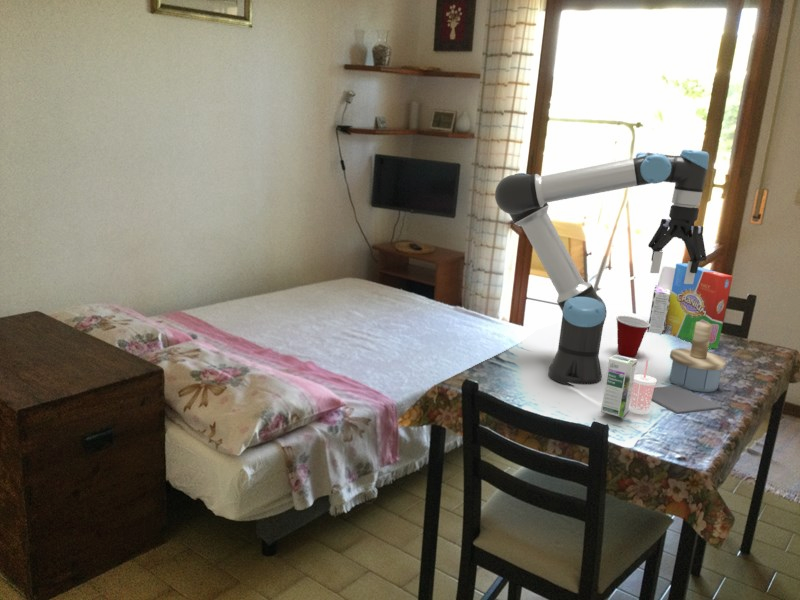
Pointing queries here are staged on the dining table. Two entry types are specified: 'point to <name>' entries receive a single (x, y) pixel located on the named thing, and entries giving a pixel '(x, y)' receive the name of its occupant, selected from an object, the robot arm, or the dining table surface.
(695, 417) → the dining table surface
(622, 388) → the syrup box
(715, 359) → the lid
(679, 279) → the game box
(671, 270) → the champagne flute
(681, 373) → the bowl
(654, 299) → the candy box
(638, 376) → the beverage cup
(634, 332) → the plastic cup
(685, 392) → the mat
